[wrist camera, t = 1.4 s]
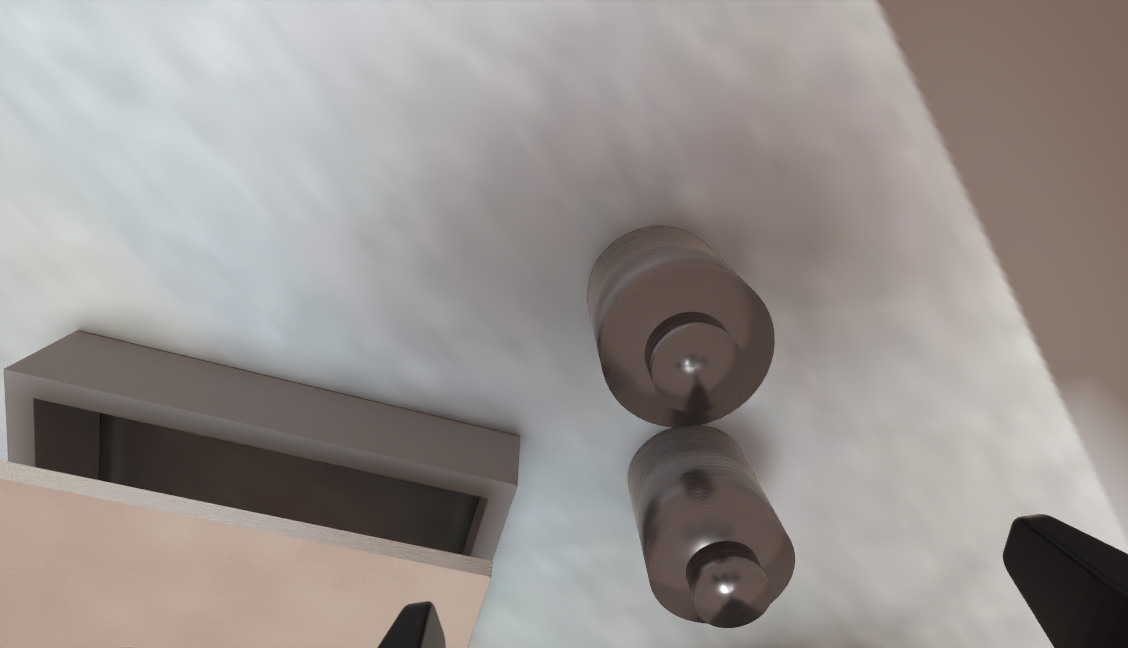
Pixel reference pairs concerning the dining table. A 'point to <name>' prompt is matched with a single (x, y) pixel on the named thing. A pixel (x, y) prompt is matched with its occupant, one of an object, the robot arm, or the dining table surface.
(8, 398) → the scale base
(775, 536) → the weight
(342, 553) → the scale pan
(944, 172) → the dining table surface
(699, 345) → the weight
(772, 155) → the dining table surface
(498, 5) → the dining table surface
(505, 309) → the dining table surface
